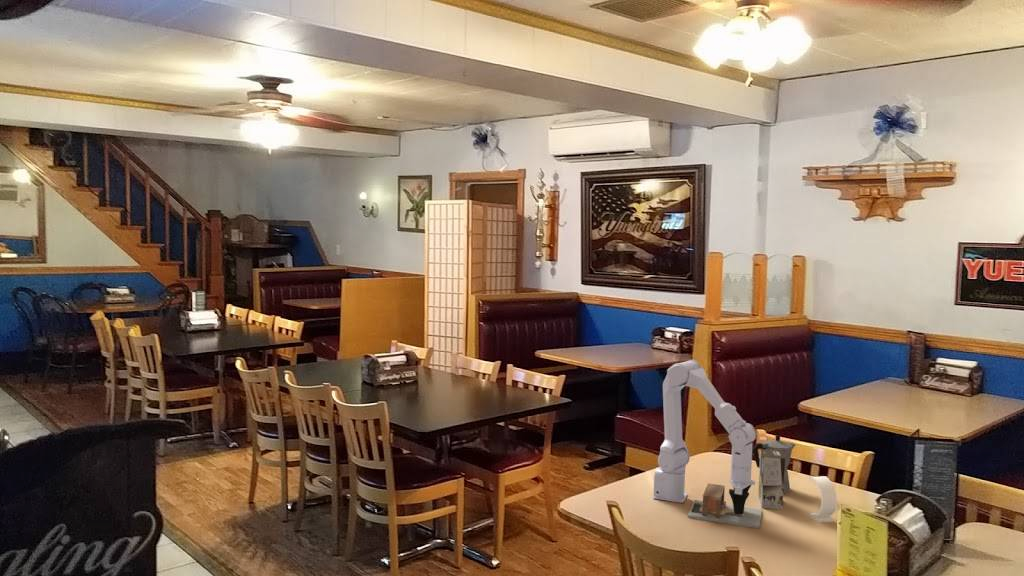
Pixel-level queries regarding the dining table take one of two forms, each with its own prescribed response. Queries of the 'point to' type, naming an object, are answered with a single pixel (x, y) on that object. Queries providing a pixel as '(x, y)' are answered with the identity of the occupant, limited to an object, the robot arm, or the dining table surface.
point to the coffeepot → (776, 445)
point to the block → (711, 504)
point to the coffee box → (771, 478)
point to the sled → (723, 510)
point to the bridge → (713, 497)
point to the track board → (728, 516)
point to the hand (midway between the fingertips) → (739, 510)
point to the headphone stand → (825, 500)
